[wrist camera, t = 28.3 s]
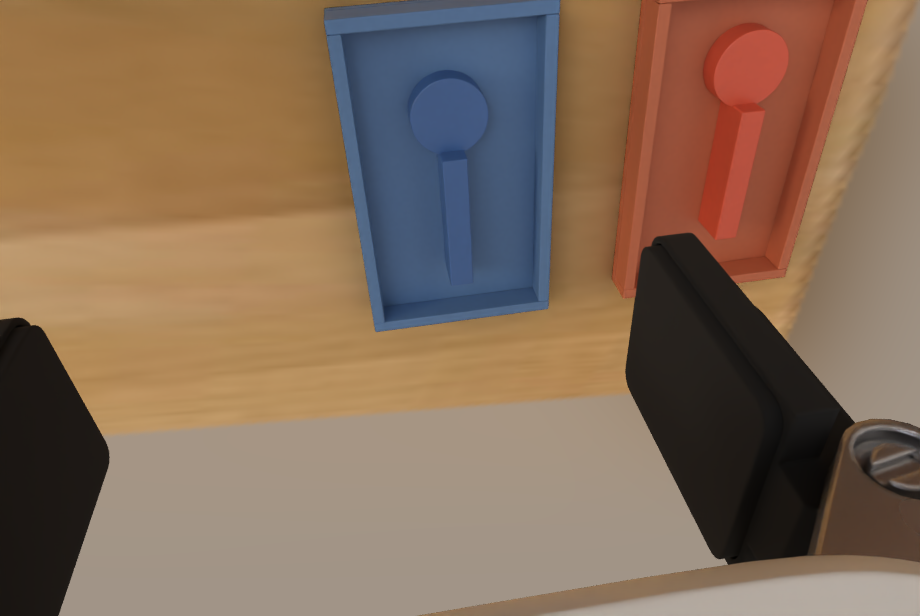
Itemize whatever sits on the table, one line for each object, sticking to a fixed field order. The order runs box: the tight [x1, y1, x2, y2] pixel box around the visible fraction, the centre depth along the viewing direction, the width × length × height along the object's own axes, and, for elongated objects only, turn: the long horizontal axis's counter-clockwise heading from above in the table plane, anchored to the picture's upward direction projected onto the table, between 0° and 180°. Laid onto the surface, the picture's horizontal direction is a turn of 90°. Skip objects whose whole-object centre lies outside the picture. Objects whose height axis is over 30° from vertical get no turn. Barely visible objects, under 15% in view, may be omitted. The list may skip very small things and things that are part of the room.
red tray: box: [612, 0, 868, 298], centre depth 34 cm, size 16×10×2 cm, turn 3°
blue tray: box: [324, 0, 560, 332], centre depth 33 cm, size 16×10×2 cm, turn 3°
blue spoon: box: [408, 70, 489, 286], centre depth 32 cm, size 10×4×2 cm, turn 3°
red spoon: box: [698, 23, 789, 240], centre depth 33 cm, size 10×4×2 cm, turn 3°
